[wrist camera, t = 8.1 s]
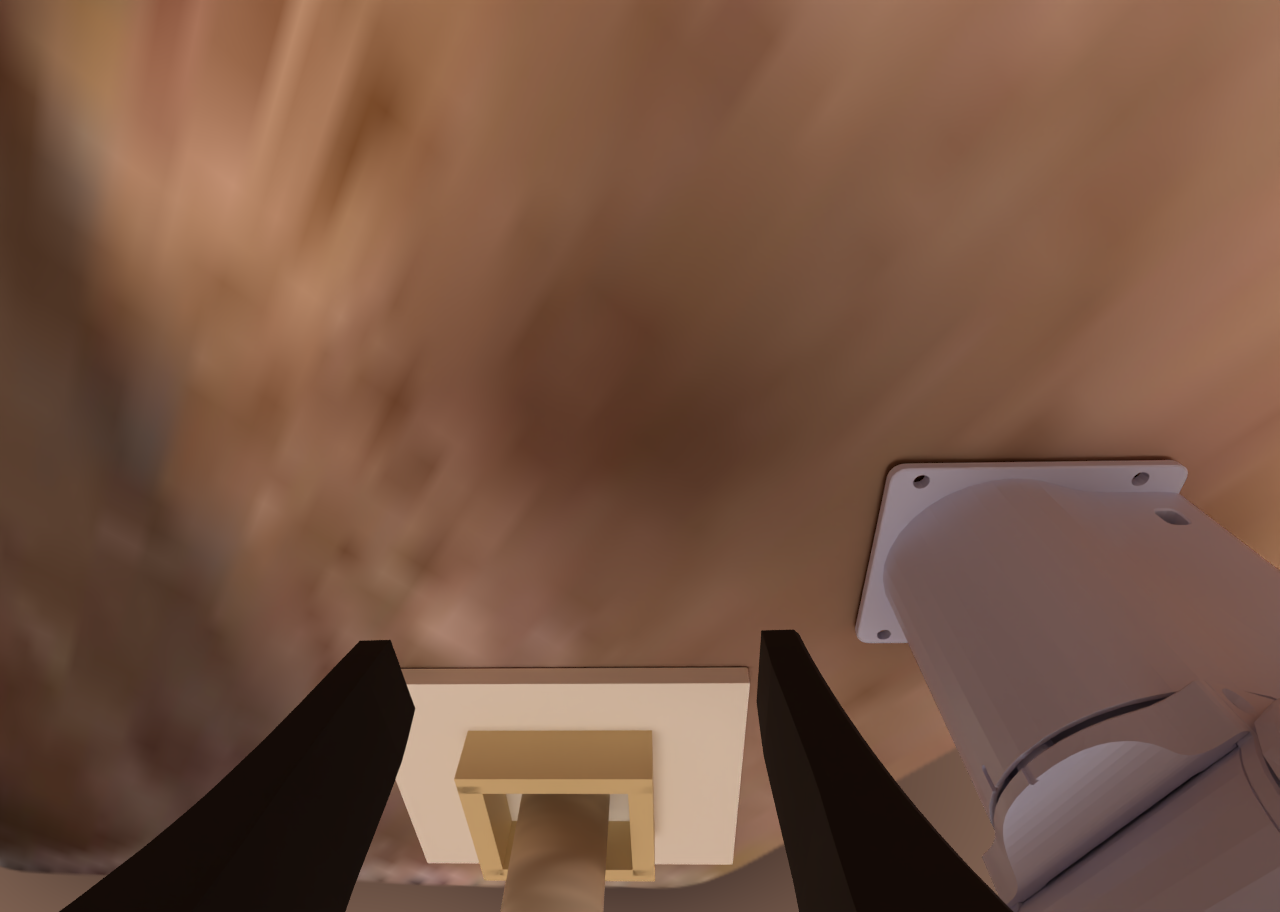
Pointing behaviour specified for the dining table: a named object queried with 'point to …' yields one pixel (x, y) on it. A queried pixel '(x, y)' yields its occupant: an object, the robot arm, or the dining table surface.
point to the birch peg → (558, 854)
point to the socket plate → (577, 759)
